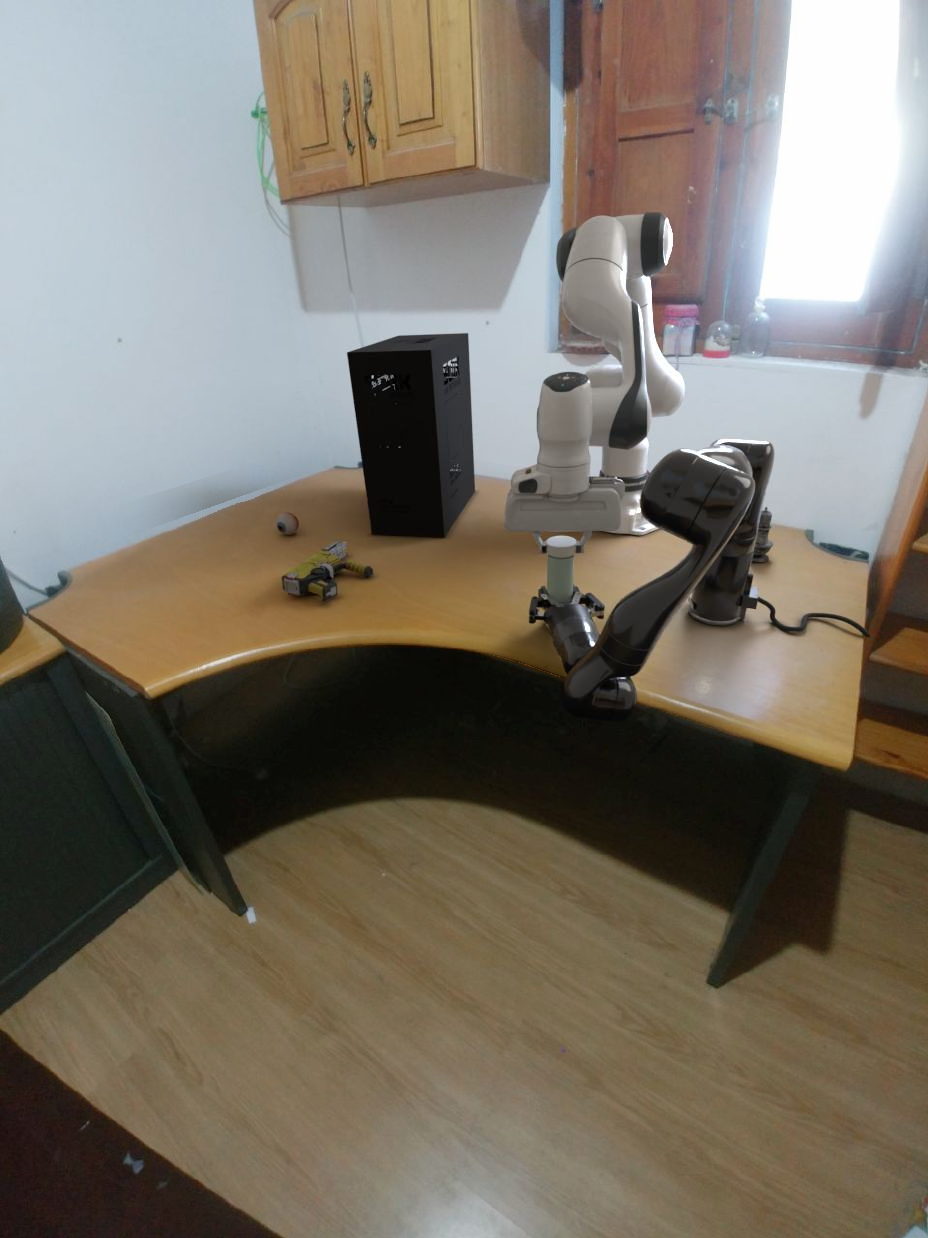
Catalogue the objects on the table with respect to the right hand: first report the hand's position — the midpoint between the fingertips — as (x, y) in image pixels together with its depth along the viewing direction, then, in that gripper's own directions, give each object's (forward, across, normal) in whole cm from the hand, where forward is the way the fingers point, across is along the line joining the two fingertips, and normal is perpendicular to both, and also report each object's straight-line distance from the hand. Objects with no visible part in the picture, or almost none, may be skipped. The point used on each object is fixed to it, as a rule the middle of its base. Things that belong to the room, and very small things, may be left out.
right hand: (557, 589), depth 115 cm
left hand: (-3, 0, -9) cm, 9 cm away
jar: (-3, 0, +6) cm, 7 cm away
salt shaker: (+21, -50, +6) cm, 54 cm away
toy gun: (+24, +46, +6) cm, 53 cm away
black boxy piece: (+66, +26, +6) cm, 71 cm away
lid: (-3, 0, -11) cm, 11 cm away
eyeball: (+55, +64, +6) cm, 84 cm away
